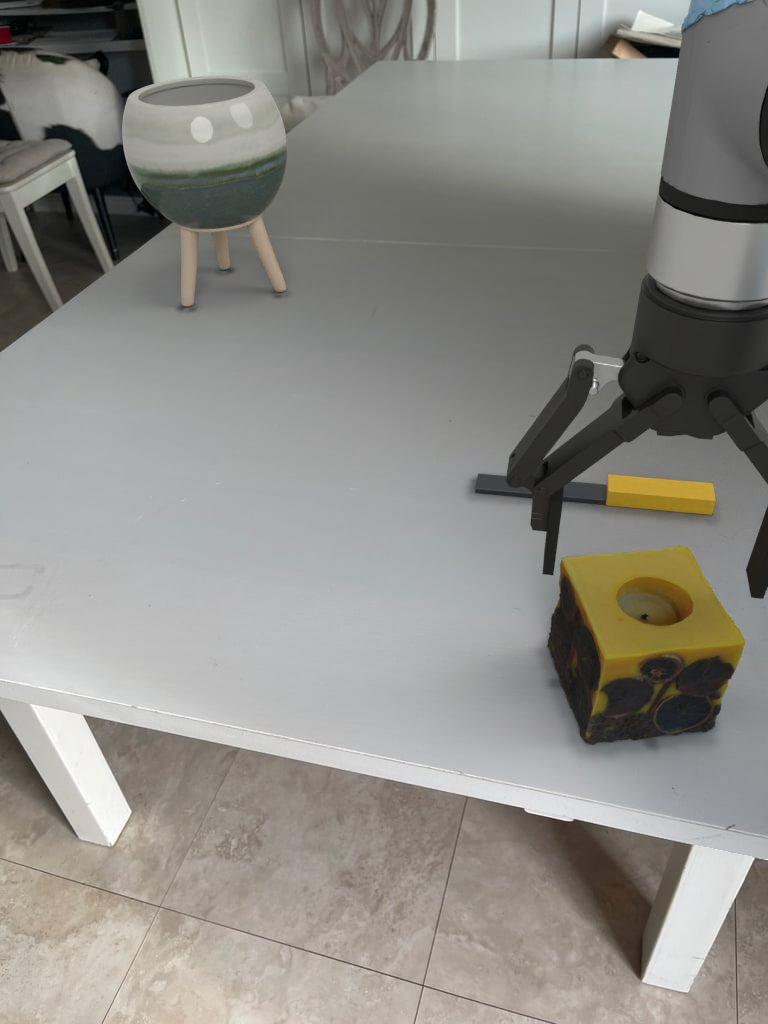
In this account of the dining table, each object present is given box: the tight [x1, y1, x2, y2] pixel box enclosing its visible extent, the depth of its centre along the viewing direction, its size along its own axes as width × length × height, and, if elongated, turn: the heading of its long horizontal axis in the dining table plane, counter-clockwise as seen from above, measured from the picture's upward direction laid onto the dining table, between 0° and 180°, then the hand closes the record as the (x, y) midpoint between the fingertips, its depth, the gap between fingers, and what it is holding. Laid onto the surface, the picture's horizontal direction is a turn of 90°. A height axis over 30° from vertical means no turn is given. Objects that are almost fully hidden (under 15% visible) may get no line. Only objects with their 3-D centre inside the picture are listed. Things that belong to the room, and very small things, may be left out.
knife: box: [474, 473, 717, 516], centre depth 81 cm, size 23×3×2 cm, turn 78°
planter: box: [121, 75, 288, 308], centre depth 116 cm, size 22×22×28 cm
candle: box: [546, 545, 746, 746], centre depth 60 cm, size 10×10×10 cm
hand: (649, 573), depth 55 cm, fingers open, 13 cm apart
